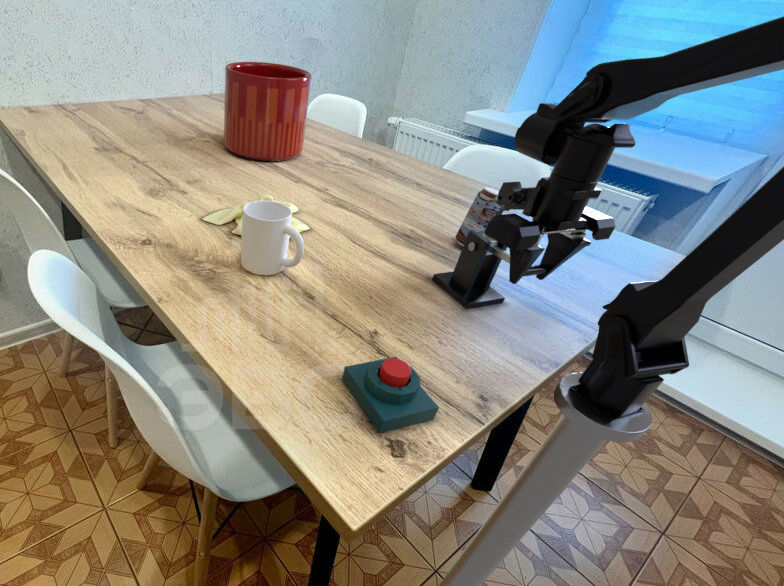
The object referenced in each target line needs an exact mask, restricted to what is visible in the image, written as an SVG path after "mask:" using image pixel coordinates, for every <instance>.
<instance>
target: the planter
mask: <svg viewBox="0 0 784 586" xmlns="http://www.w3.org/2000/svg"><path fill="white" fill-rule="evenodd" d="M311 82H312V73H310V72H309V71H308V70H306V69H303V68H300V67H296V66H291V65H288V64H281V63H275V62H274V63H273V62H265V61H264V62H263V61H235V62H229V63H228V64H226V65H225V67H224V104H223V105H224V106H223V109H224V110H223V112H224V113H223V143H224V146H225V148H226V149H227V150H228V151H230V152H231V153H233V154H235V155H236V156H239V157H242V158H244V159H249V160H253V161H261V162H283V161H288V160H291V159H294V158H297V157H299V156H300V155H301V154H302V152H303V150H304V142H305V135H306V126H307V119H308V110H309V100H310V94H311V93H310V92H311V85H312V84H311Z"/></svg>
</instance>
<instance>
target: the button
mask: <svg viewBox="0 0 784 586" xmlns="http://www.w3.org/2000/svg"><path fill="white" fill-rule="evenodd" d="M389 358H390V359H387V358H385V359H386V360H385V361H384V362H383V363H382V366H381V369H380V373H379V378H380V380H381V381H382V382H383V383H385V384H387V385H389V386H392V387H398V388H400V387H403V386H405V385H406V384H407V382H408V380H409V377H410V374H411V368H410V366H411V365H409V364H408V363H407V362H406V361H404V360H402V359H400V358H397V359H395V358H392V357H389Z"/></svg>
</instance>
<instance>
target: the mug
mask: <svg viewBox="0 0 784 586" xmlns="http://www.w3.org/2000/svg"><path fill="white" fill-rule="evenodd" d="M246 203H247V204H246V205H244V207H243V216H242V236H241V239H240V240H241V241H240V242H241V243H240V263H241V266H242V267H243V268H244V269H245V270H246V271H248V272H250V273H251V274H253V275H259V276H274V275H277V274H279V273H281V272H282V271H283V270H284V269H285V268H293V267H294V268H295V267H296V266H298V265H299V264H300V262H301V261H302V260H303V258H304V254H305V244H304V239H303V237H302V235H301V233H299V232H298V231H297V230H296V229H295V228H293V227H292V226H291V218H292V217H293V213H292V211H291V209H290V208H289V207H287V206H286V205H284V204H281V203H278V202H274V201H258V200H254V201H250V202H246ZM289 236H290V237H291V239H292V240H293V241H294V244H295V248H296V249H295V255H294V256H293V258H291V259H290V258H288V251H289V242H290V238H289Z"/></svg>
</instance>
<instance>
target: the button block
mask: <svg viewBox="0 0 784 586" xmlns="http://www.w3.org/2000/svg"><path fill="white" fill-rule="evenodd" d="M390 358H395V359H398V357H397V356H392V357H387V358H382V359H377V360H372V361H371V360H370V361H367V362H362V363H356V364H351V365H346V366H344V368H343V372H342V377H341V380H342V381H343V383H344V384H345V385H346V387H347V388H348V390H349V391H350V392H351V394H352V396H353V397H354V398H355V401H356V402H357V403H358V405H359V406H360V407H361V410H363V412H364V413H365V414H366V416H367V417H368V419H369V421H370V422H371V423H372V424H373V426H374V427H375V429H376V430H377V432H378V433H379V434H381V433H384V432H389V431H393V430H396V429H397V430H398V429H400V428H404V427H409V426H412V425H415V424H416V425H417V424H420V423H425V422H429V421H432V420H435V417H436V415H437V413H438V411H439V409H440V406H439V405H438V404H437V403H436V402H435V400H433V398H432V397H431V396H430V395H429V393H428V392H427V391H426V390H425V389H424V387H422V385H421V377H420V375H419V374H418V372H417V371H416V370H415V369H414V368H413V367H412V366H411V365H409V366H410V368H411V374H410V377H409V380H408V382H407V384H406V385H405V386H403V387H400V388H398V387H392V386H389V385H387V384H385V383H383V382H382V381H381V380H380V378H379V373H380V369H381V366H382V363H383V362H384V361H385V360H386V359H390Z"/></svg>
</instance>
